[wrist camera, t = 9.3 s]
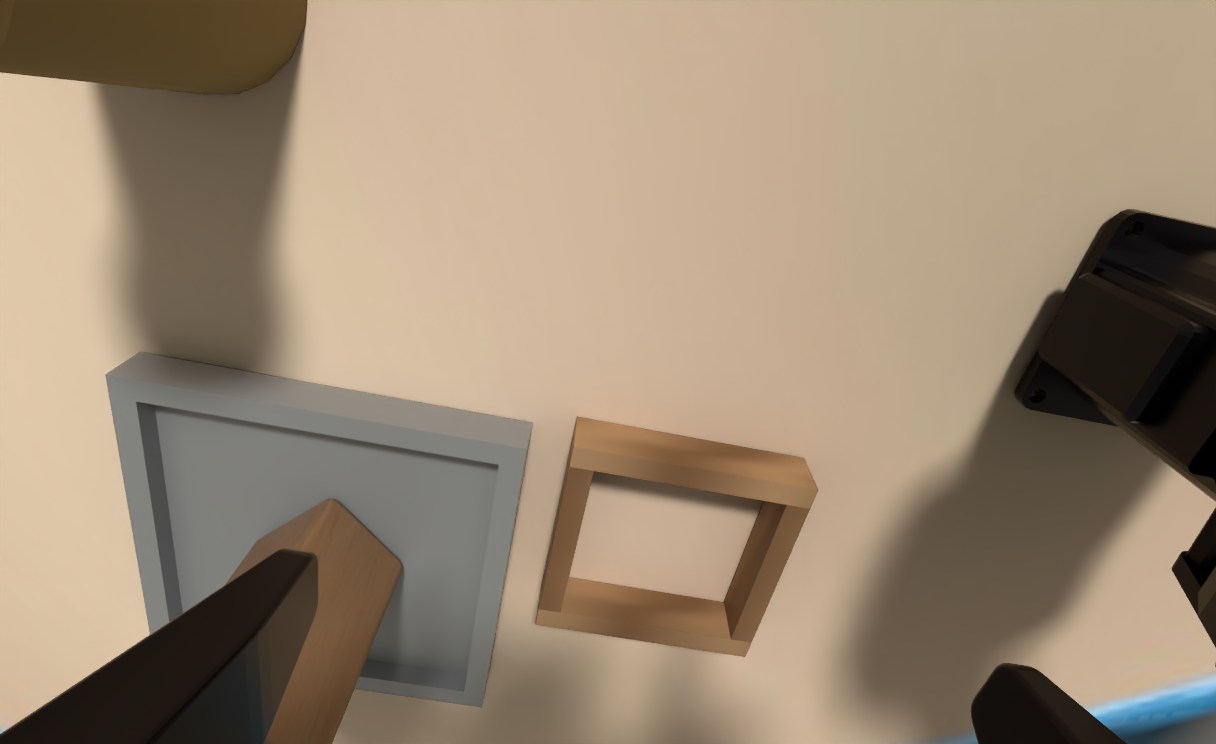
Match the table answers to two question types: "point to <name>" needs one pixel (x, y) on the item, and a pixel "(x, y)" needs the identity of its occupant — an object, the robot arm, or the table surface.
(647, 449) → the walnut collar
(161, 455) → the slate tray
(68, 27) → the olive pawn piece
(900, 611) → the table surface
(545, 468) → the table surface
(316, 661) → the wooden block
